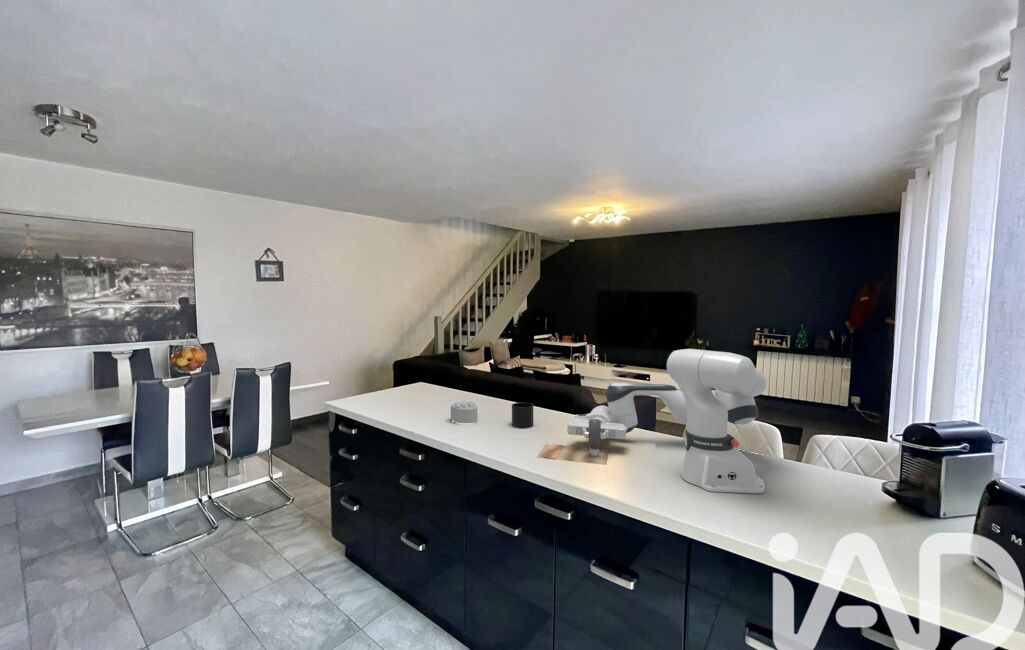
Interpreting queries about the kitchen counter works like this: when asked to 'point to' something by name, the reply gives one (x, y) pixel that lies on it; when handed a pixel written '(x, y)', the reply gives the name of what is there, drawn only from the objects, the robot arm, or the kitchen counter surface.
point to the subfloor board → (572, 454)
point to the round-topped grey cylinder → (594, 437)
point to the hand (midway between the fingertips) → (594, 436)
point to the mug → (522, 415)
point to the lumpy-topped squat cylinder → (464, 412)
